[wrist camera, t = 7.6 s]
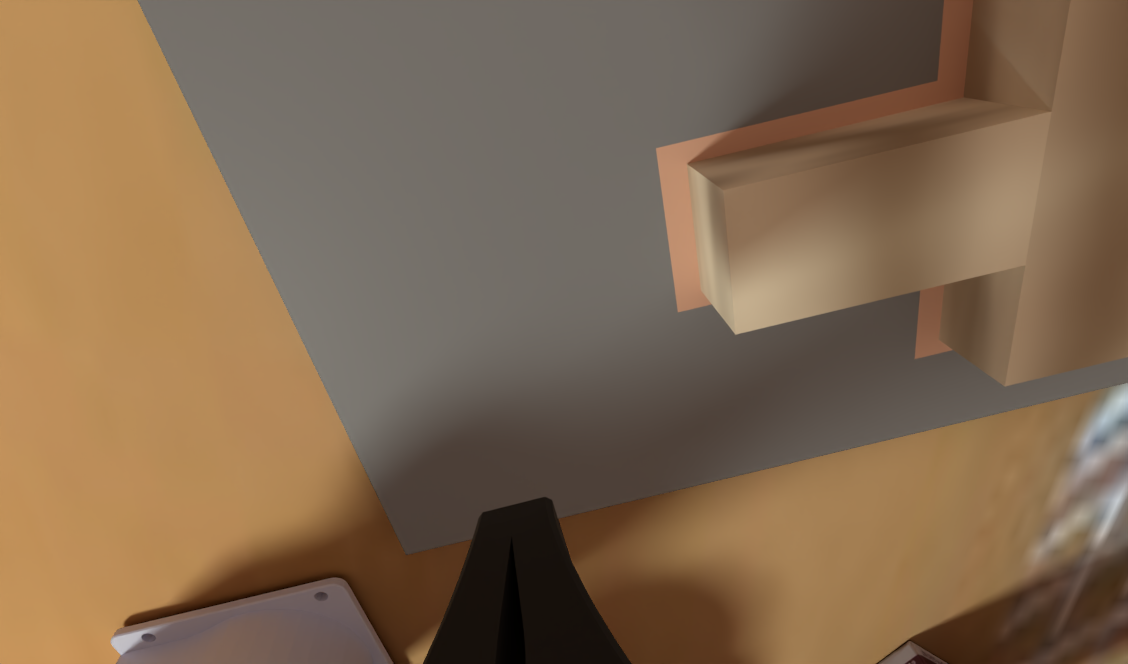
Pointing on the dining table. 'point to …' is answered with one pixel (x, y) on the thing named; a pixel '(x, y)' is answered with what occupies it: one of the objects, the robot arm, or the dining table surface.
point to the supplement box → (911, 656)
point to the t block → (951, 202)
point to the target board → (564, 235)
